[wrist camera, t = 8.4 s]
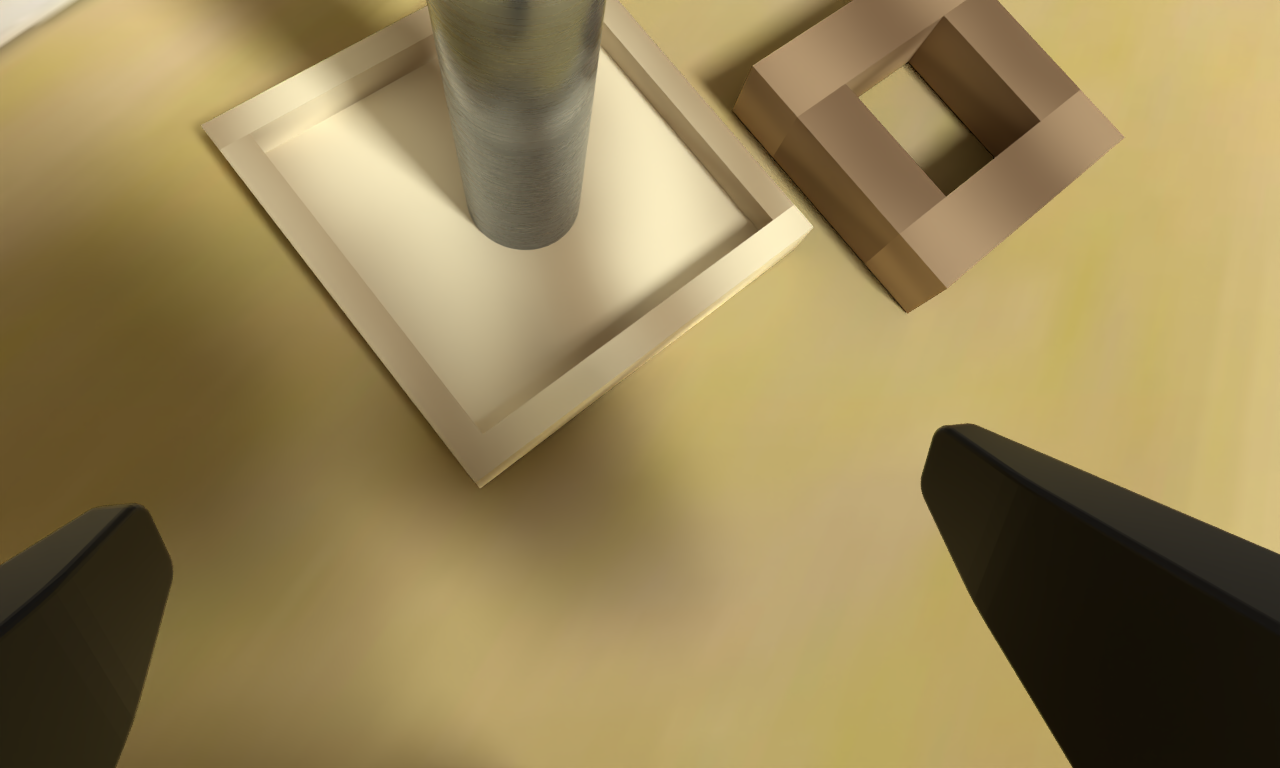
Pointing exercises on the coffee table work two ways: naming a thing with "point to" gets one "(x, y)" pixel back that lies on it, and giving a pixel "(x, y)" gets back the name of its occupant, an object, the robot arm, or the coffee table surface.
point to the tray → (488, 272)
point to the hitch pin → (520, 109)
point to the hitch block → (883, 171)
